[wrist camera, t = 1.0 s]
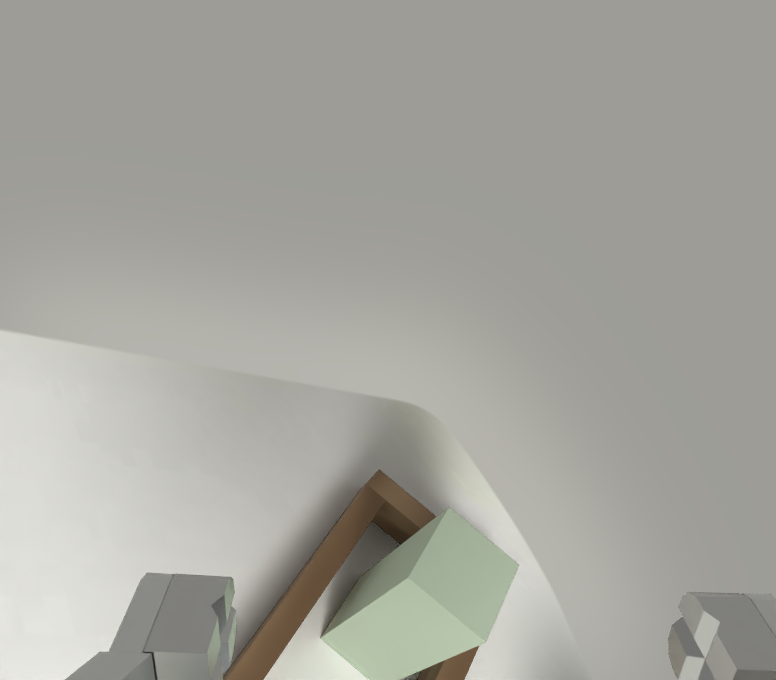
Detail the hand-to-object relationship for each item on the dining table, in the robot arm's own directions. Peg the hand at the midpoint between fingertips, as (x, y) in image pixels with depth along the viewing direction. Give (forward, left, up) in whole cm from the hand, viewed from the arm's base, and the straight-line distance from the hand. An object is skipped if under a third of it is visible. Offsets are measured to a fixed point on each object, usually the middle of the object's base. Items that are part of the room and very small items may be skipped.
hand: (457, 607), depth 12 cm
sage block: (+5, +11, -28) cm, 30 cm away
